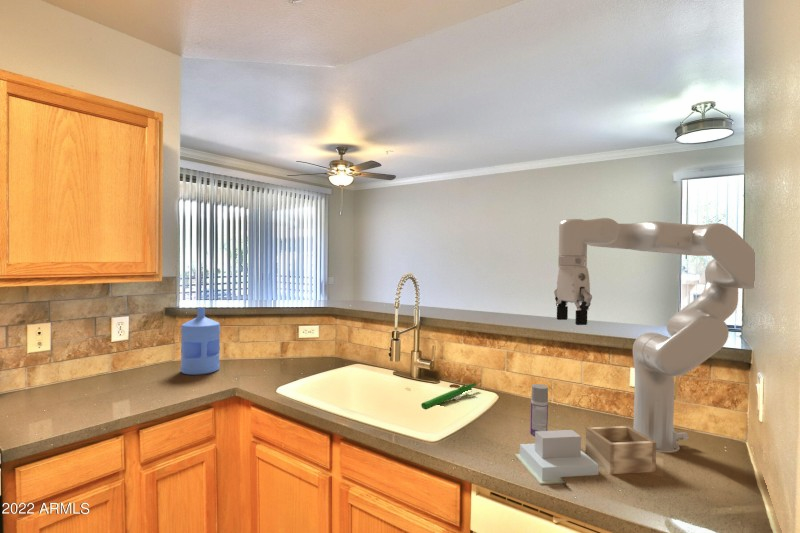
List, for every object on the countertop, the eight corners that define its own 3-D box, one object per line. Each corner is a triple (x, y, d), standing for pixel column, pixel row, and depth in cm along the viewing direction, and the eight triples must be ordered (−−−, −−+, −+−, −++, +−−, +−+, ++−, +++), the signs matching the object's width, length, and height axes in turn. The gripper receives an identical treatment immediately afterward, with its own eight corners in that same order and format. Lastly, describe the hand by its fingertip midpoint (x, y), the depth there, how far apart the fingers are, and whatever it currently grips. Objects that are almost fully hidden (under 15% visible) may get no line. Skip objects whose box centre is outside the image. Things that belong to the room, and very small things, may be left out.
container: (533, 432, 123) (535, 382, 122) (549, 437, 120) (550, 386, 119) (527, 437, 119) (528, 386, 119) (543, 442, 116) (545, 389, 116)
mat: (571, 452, 110) (571, 451, 110) (604, 480, 96) (604, 479, 96) (515, 455, 108) (515, 454, 108) (540, 484, 94) (540, 482, 94)
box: (627, 455, 109) (628, 425, 109) (655, 475, 99) (656, 442, 99) (585, 457, 107) (586, 427, 107) (609, 478, 97) (610, 444, 97)
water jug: (177, 369, 184) (178, 307, 184) (214, 364, 194) (215, 305, 193) (184, 377, 172) (184, 311, 171) (223, 371, 181) (224, 308, 181)
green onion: (428, 413, 139) (480, 390, 160) (428, 404, 139) (480, 382, 160) (418, 409, 143) (470, 387, 163) (418, 400, 142) (470, 379, 163)
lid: (570, 452, 109) (570, 423, 109) (598, 477, 97) (599, 443, 97) (519, 455, 107) (520, 425, 107) (542, 480, 95) (542, 446, 95)
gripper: (603, 263, 109) (602, 326, 110) (567, 262, 126) (566, 317, 127) (577, 262, 108) (576, 327, 108) (545, 262, 125) (544, 318, 126)
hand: (571, 322), depth 118 cm, fingers open, 9 cm apart
